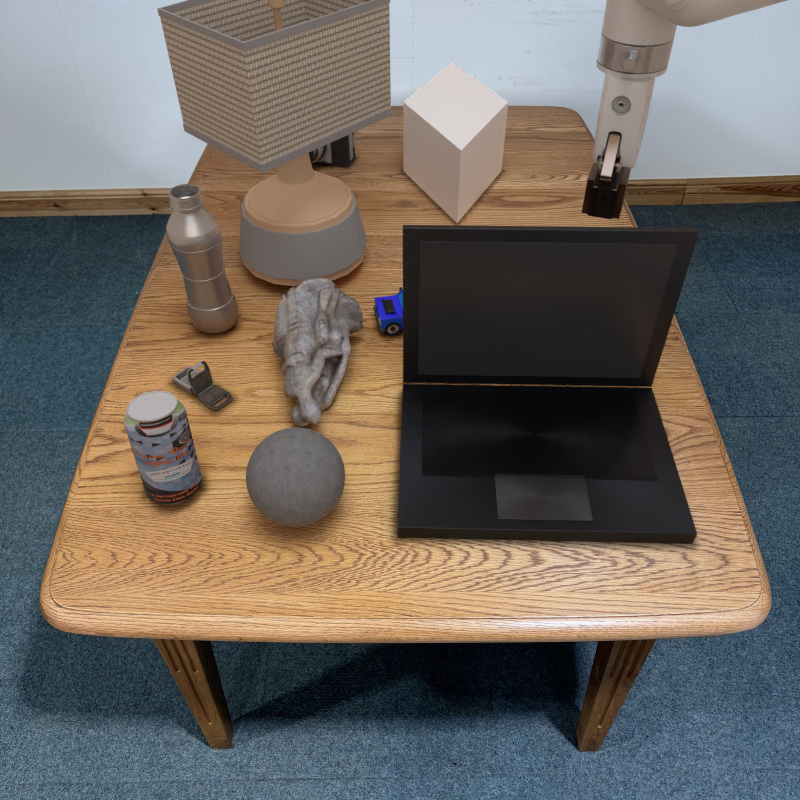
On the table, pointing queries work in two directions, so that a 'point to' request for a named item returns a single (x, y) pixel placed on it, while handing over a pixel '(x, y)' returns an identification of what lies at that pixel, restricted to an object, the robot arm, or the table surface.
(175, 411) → the beverage can
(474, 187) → the block
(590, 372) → the laptop screen
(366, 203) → the table surface
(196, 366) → the strap clip
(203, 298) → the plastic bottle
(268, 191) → the desk lamp
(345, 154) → the camera
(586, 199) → the block
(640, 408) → the laptop
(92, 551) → the table surface
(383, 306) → the toy car
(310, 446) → the decorative ball
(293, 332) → the sculpture
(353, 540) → the table surface
